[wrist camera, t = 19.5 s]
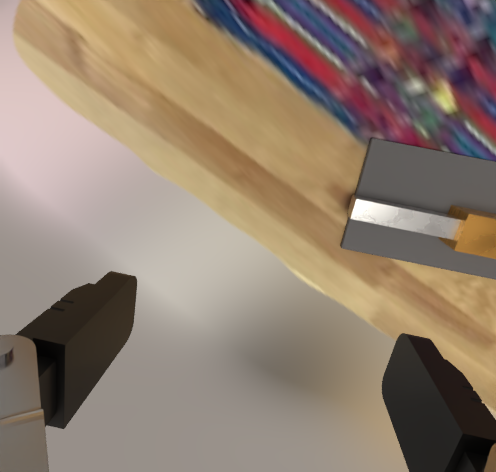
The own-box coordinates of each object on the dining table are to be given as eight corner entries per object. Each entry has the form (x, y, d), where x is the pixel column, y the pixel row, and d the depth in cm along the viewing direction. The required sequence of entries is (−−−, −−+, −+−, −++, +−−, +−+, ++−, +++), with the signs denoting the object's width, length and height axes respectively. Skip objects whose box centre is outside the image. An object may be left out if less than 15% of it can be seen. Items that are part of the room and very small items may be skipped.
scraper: (343, 219, 45) (349, 229, 41) (353, 185, 44) (360, 192, 39) (518, 254, 44) (542, 268, 40) (534, 221, 43) (561, 232, 39)
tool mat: (370, 137, 43) (372, 138, 42) (590, 179, 42) (597, 181, 41) (340, 245, 47) (341, 248, 46) (538, 285, 46) (543, 289, 45)
